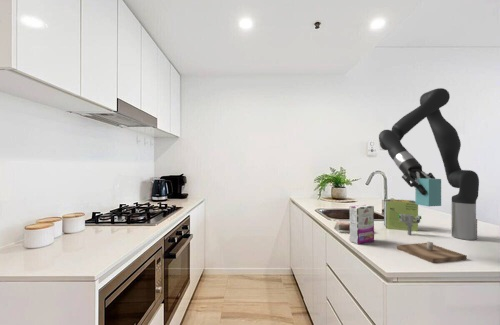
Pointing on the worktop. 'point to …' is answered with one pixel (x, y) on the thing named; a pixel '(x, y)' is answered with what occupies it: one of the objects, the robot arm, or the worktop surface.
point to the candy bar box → (361, 224)
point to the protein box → (399, 207)
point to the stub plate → (431, 252)
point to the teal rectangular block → (429, 192)
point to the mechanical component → (409, 220)
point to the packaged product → (342, 227)
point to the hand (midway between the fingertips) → (432, 193)
